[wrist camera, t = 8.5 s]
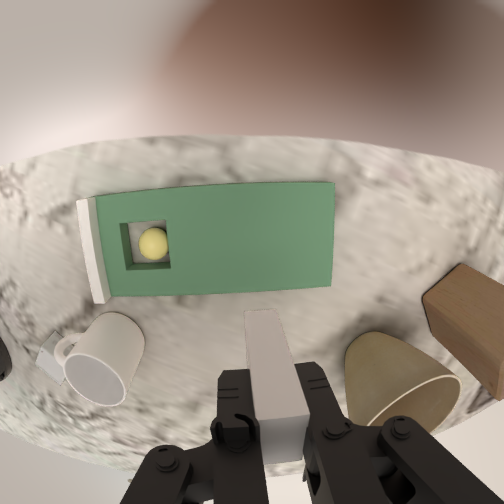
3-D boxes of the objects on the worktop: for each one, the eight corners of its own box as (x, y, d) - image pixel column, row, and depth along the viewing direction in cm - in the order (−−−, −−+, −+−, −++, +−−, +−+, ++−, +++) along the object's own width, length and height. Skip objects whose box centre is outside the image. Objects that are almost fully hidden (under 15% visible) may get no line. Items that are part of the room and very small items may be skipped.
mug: (77, 347, 36) (48, 388, 26) (69, 300, 33) (32, 337, 24) (147, 363, 37) (130, 413, 27) (145, 315, 35) (121, 362, 25)
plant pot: (312, 331, 37) (353, 415, 22) (404, 295, 37) (472, 352, 22) (327, 398, 41) (357, 472, 26) (404, 365, 41) (450, 425, 26)
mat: (108, 288, 33) (94, 303, 29) (93, 196, 30) (76, 200, 26) (324, 278, 35) (336, 293, 31) (327, 181, 32) (341, 184, 27)
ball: (154, 253, 33) (134, 262, 30) (151, 224, 32) (130, 231, 29) (177, 256, 32) (157, 265, 29) (174, 225, 31) (153, 232, 28)
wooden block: (430, 336, 40) (498, 406, 21) (418, 295, 37) (505, 367, 18) (468, 302, 39) (541, 357, 20) (460, 259, 36) (550, 310, 17)
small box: (46, 348, 36) (33, 364, 31) (55, 329, 35) (40, 345, 30) (72, 369, 37) (60, 387, 32) (82, 351, 36) (70, 370, 31)
